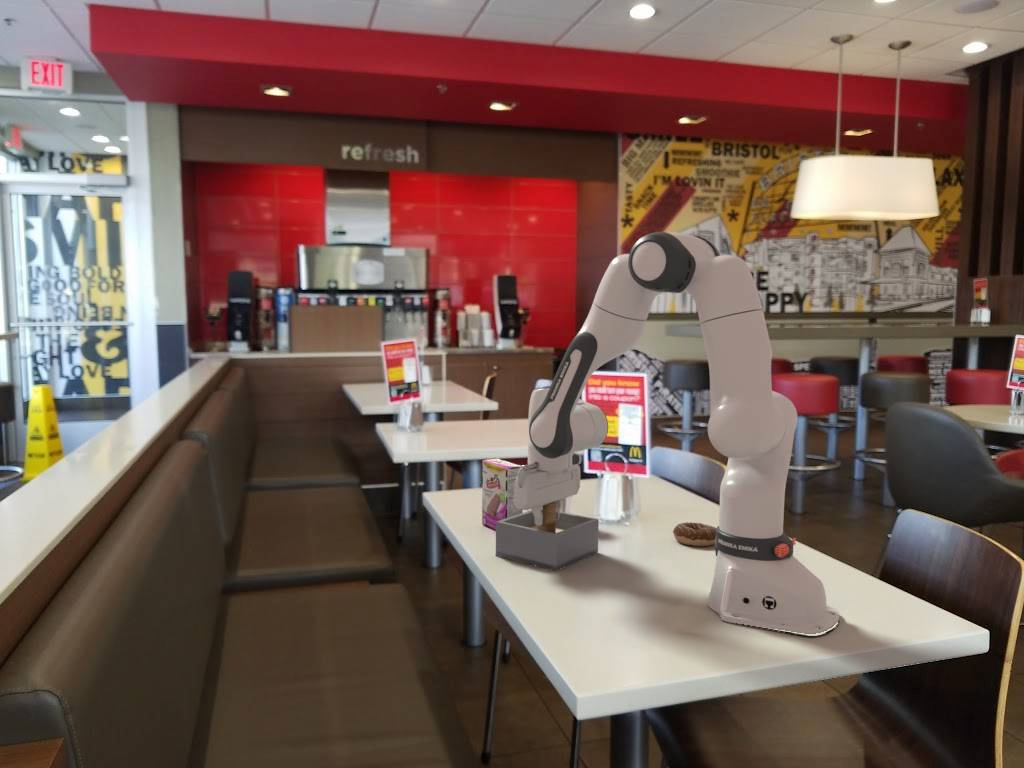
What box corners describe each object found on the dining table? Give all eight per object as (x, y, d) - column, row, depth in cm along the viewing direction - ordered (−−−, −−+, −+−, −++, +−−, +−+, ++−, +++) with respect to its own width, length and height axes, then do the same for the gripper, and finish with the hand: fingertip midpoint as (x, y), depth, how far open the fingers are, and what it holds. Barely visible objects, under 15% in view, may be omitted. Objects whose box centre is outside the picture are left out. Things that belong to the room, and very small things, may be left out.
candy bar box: (480, 525, 197) (481, 459, 195) (497, 522, 200) (498, 457, 198) (506, 536, 188) (506, 467, 186) (523, 533, 191) (524, 465, 189)
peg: (559, 537, 175) (559, 501, 174) (548, 541, 171) (549, 505, 171) (544, 534, 177) (544, 498, 176) (533, 538, 174) (534, 502, 173)
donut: (671, 546, 181) (671, 529, 181) (674, 534, 192) (674, 517, 191) (719, 550, 179) (720, 533, 178) (720, 537, 189) (720, 521, 188)
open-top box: (597, 552, 176) (598, 519, 175) (556, 571, 163) (556, 535, 163) (539, 539, 186) (539, 507, 185) (495, 555, 173) (495, 521, 172)
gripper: (531, 468, 162) (530, 535, 164) (585, 454, 178) (584, 515, 180) (506, 464, 166) (506, 529, 168) (562, 451, 182) (561, 510, 184)
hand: (547, 522), depth 174 cm, fingers closed on peg, 4 cm apart
